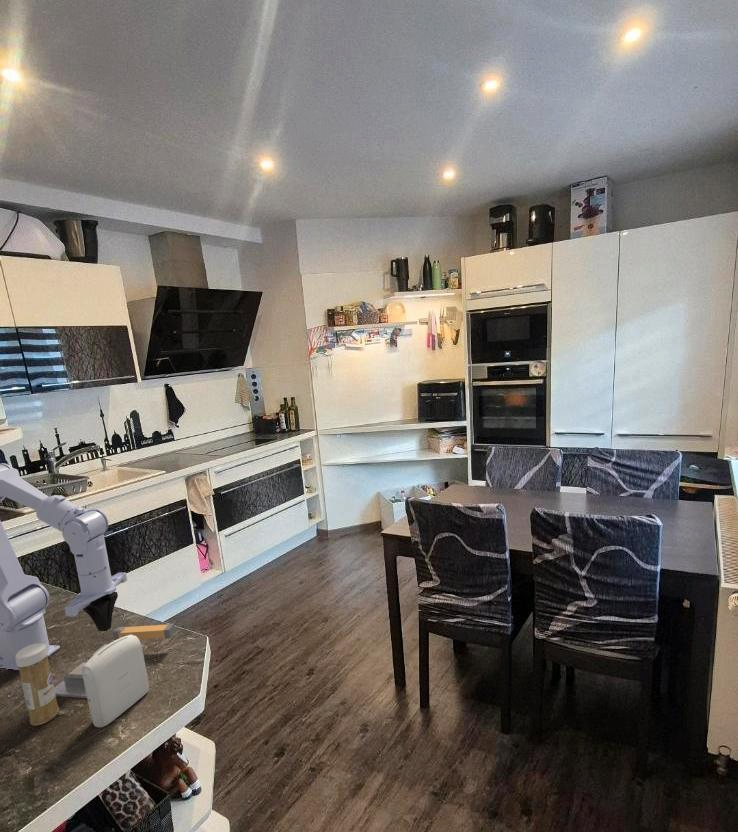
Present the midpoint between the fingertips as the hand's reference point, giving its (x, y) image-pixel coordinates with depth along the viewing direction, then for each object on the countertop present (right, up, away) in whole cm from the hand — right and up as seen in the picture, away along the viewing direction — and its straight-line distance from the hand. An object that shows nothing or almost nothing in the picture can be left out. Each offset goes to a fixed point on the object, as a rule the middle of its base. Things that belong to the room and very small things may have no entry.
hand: (104, 629), depth 98 cm
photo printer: (+11, -8, -13) cm, 19 cm away
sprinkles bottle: (-3, -10, -14) cm, 17 cm away
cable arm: (+7, -3, +4) cm, 8 cm away
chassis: (0, -8, -2) cm, 8 cm away
